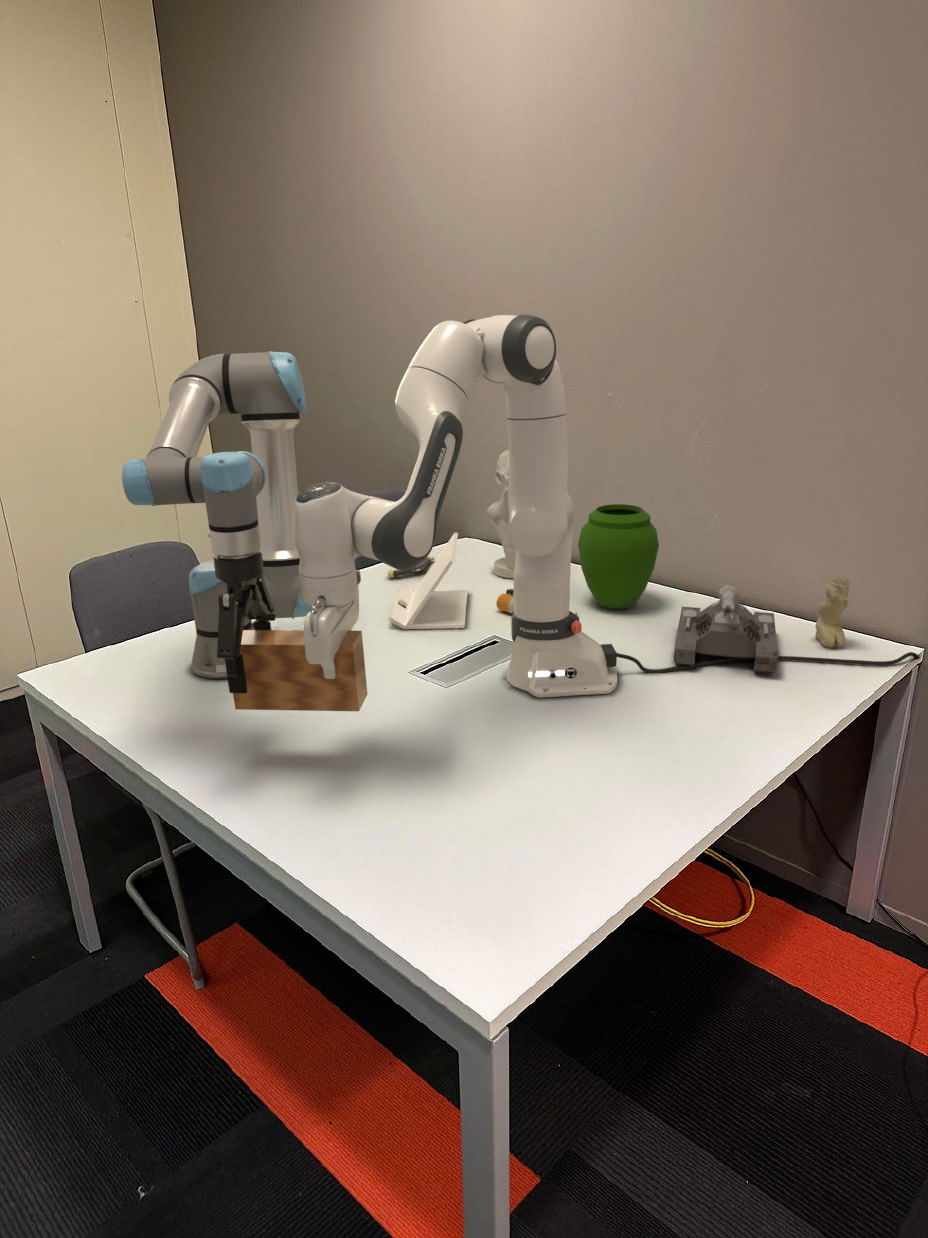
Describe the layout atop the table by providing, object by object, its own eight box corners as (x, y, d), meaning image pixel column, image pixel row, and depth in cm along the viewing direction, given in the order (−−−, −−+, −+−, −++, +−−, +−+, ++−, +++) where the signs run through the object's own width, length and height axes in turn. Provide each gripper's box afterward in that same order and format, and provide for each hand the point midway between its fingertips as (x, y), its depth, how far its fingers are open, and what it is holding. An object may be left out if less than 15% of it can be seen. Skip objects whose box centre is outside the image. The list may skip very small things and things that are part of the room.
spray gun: (511, 596, 225) (566, 604, 219) (486, 612, 210) (543, 622, 204) (512, 580, 223) (567, 588, 217) (487, 596, 209) (544, 605, 203)
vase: (599, 587, 227) (601, 497, 218) (668, 600, 216) (673, 505, 208) (562, 608, 212) (564, 513, 204) (634, 623, 202) (639, 523, 193)
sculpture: (821, 649, 184) (830, 583, 179) (808, 637, 191) (816, 573, 185) (848, 649, 184) (858, 582, 179) (834, 636, 191) (843, 572, 185)
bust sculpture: (503, 593, 225) (502, 460, 212) (483, 567, 247) (480, 445, 234) (562, 587, 228) (563, 456, 215) (536, 562, 250) (536, 441, 237)
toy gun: (385, 571, 238) (419, 567, 236) (402, 556, 256) (434, 553, 254) (386, 580, 239) (421, 577, 237) (403, 565, 257) (435, 562, 254)
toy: (680, 626, 199) (684, 565, 194) (771, 633, 193) (778, 570, 188) (673, 669, 176) (677, 601, 171) (775, 679, 171) (783, 608, 165)
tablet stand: (467, 593, 225) (465, 531, 219) (465, 628, 202) (462, 559, 196) (399, 594, 226) (395, 532, 220) (388, 629, 203) (384, 560, 197)
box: (367, 694, 145) (361, 630, 140) (359, 711, 139) (352, 645, 135) (248, 692, 147) (239, 629, 143) (235, 709, 141) (225, 644, 137)
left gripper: (242, 530, 147) (256, 643, 155) (181, 577, 124) (202, 708, 132) (284, 530, 146) (296, 644, 154) (231, 578, 123) (248, 709, 131)
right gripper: (331, 609, 125) (340, 695, 130) (362, 568, 144) (369, 643, 149) (289, 609, 126) (299, 694, 131) (326, 568, 145) (334, 643, 150)
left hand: (253, 674), depth 143 cm, fingers open, 13 cm apart
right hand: (337, 667), depth 140 cm, fingers closed on box, 6 cm apart
